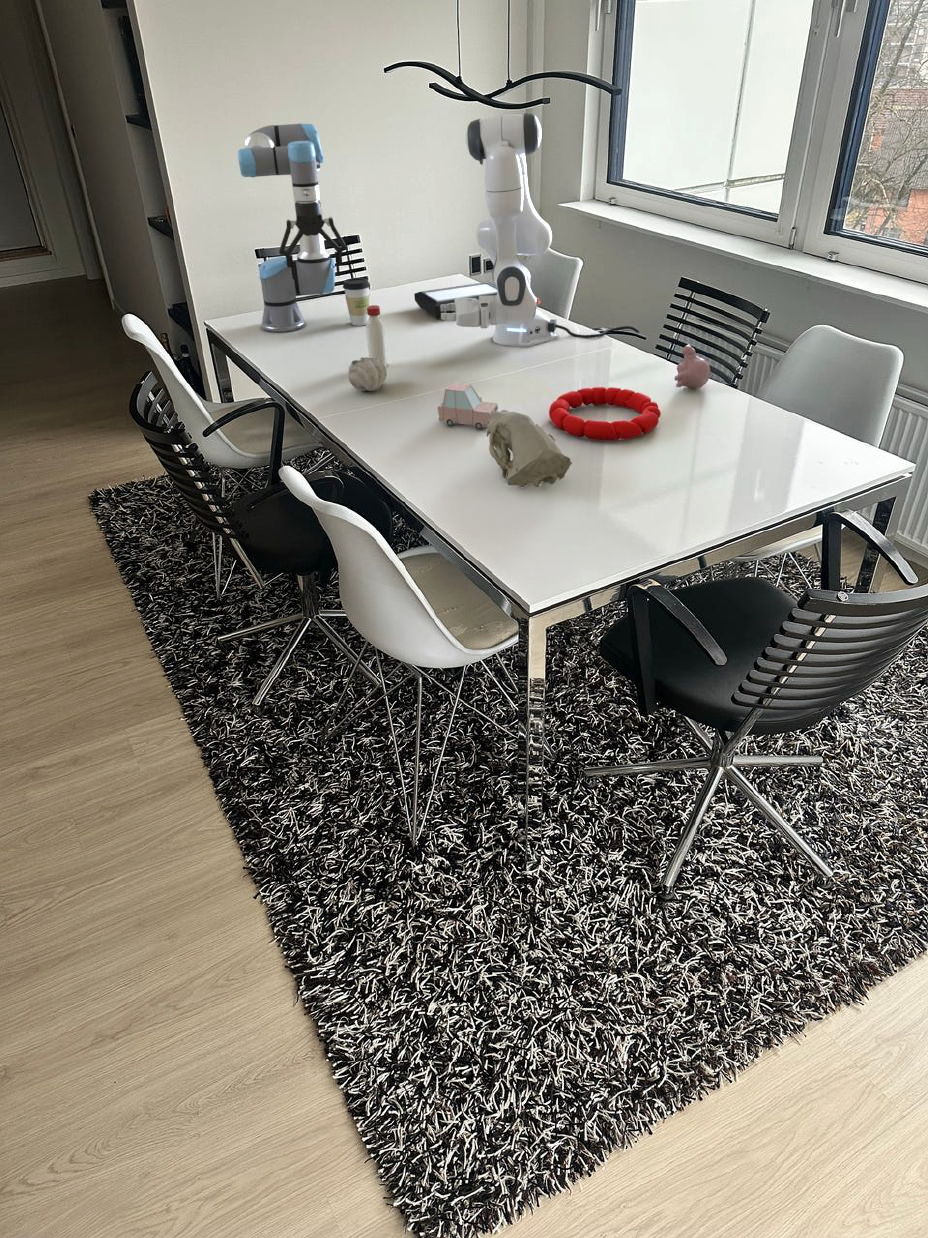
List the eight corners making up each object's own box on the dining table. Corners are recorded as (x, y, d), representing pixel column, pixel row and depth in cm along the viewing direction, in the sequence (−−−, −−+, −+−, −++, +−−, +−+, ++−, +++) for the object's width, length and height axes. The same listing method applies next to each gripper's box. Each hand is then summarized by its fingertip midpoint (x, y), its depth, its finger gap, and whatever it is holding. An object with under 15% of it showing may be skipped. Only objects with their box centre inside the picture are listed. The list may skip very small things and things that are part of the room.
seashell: (340, 389, 270) (336, 357, 264) (385, 380, 276) (382, 348, 270) (353, 400, 262) (350, 366, 257) (399, 390, 268) (397, 357, 262)
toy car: (488, 432, 240) (488, 396, 234) (436, 426, 244) (434, 390, 239) (499, 419, 247) (499, 384, 241) (448, 413, 252) (447, 379, 246)
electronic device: (434, 303, 323) (414, 291, 338) (435, 321, 326) (415, 307, 341) (513, 291, 333) (490, 280, 348) (512, 308, 336) (490, 296, 352)
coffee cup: (372, 326, 323) (368, 283, 314) (345, 327, 323) (340, 284, 315) (374, 318, 331) (371, 276, 322) (348, 319, 331) (344, 277, 323)
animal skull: (496, 517, 219) (521, 479, 201) (463, 429, 225) (484, 384, 207) (557, 503, 225) (586, 465, 206) (523, 417, 231) (549, 373, 212)
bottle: (378, 361, 291) (373, 304, 281) (390, 365, 288) (386, 307, 277) (366, 366, 287) (360, 308, 277) (378, 369, 284) (373, 311, 274)
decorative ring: (589, 435, 224) (684, 402, 234) (527, 398, 247) (617, 369, 256) (589, 461, 229) (683, 427, 238) (529, 422, 251) (617, 393, 260)
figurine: (665, 387, 264) (669, 347, 257) (693, 380, 268) (698, 340, 261) (686, 396, 257) (690, 355, 250) (714, 388, 262) (720, 348, 255)
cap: (374, 311, 281) (373, 304, 279) (382, 313, 278) (382, 306, 277) (365, 314, 278) (364, 307, 277) (373, 316, 276) (373, 309, 275)
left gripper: (264, 205, 256) (275, 282, 268) (350, 200, 259) (357, 276, 271) (264, 201, 262) (275, 276, 274) (349, 196, 265) (356, 270, 277)
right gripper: (482, 291, 286) (439, 293, 286) (486, 308, 269) (440, 310, 269) (482, 311, 289) (440, 313, 289) (486, 329, 272) (441, 331, 272)
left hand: (316, 276), depth 273 cm, fingers open, 13 cm apart
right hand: (440, 312), depth 279 cm, fingers open, 8 cm apart
